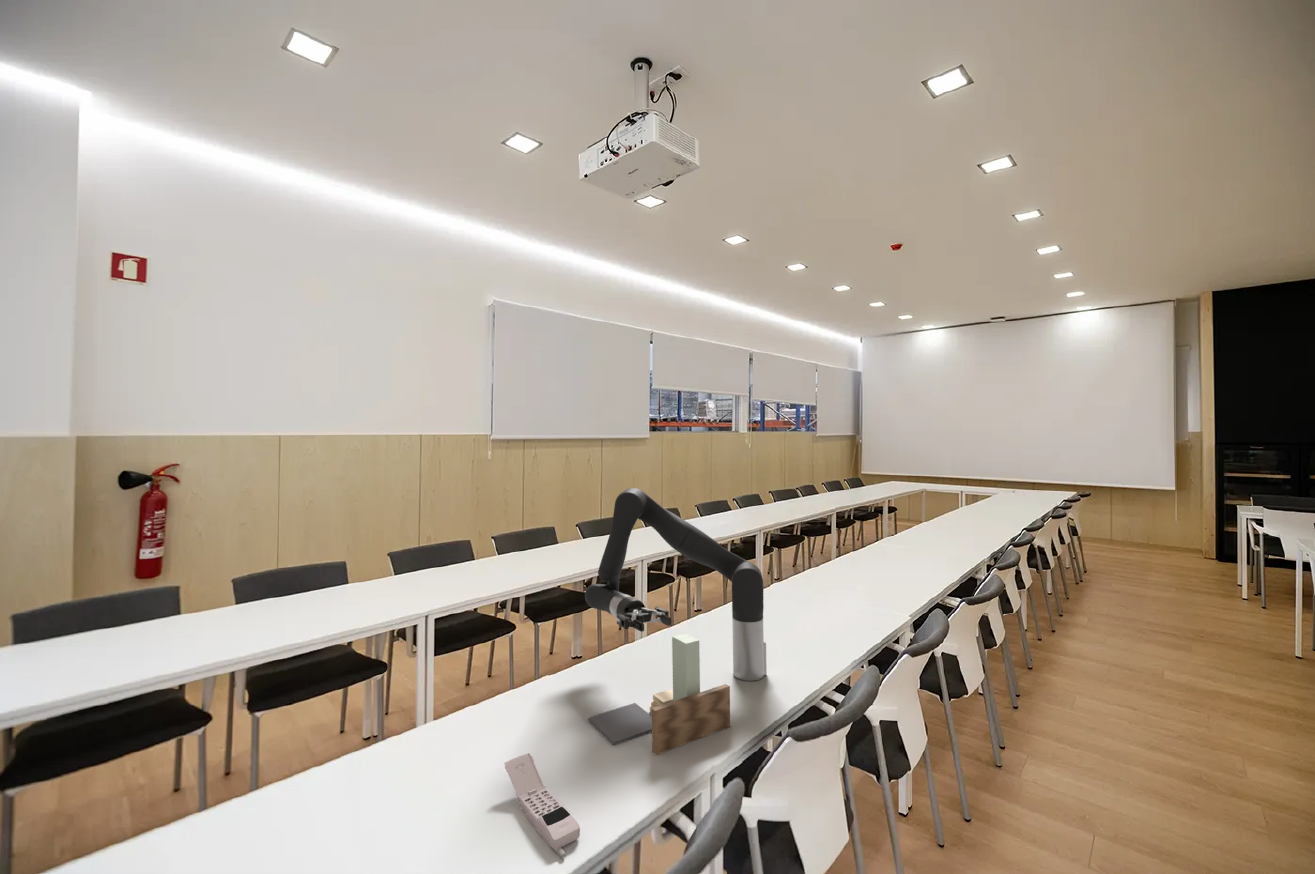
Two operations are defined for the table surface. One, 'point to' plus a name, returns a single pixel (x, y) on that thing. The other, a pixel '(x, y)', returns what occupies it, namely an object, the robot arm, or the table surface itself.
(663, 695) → the offcut stack
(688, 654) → the sage green pillar
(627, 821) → the table surface
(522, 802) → the mobile phone
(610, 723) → the charcoal mat
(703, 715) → the walnut rack
